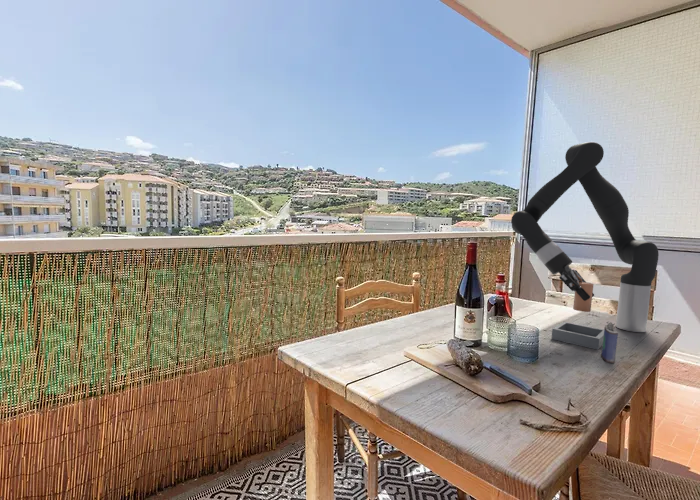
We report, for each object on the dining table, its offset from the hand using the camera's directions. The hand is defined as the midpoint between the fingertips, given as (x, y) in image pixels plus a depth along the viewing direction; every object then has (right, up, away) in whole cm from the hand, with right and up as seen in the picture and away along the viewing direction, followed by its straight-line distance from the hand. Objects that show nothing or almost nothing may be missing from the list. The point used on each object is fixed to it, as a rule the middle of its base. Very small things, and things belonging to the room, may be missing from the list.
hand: (589, 298), depth 125 cm
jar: (-2, -4, +2) cm, 5 cm away
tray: (-2, -14, +3) cm, 15 cm away
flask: (-3, -16, -14) cm, 21 cm away
